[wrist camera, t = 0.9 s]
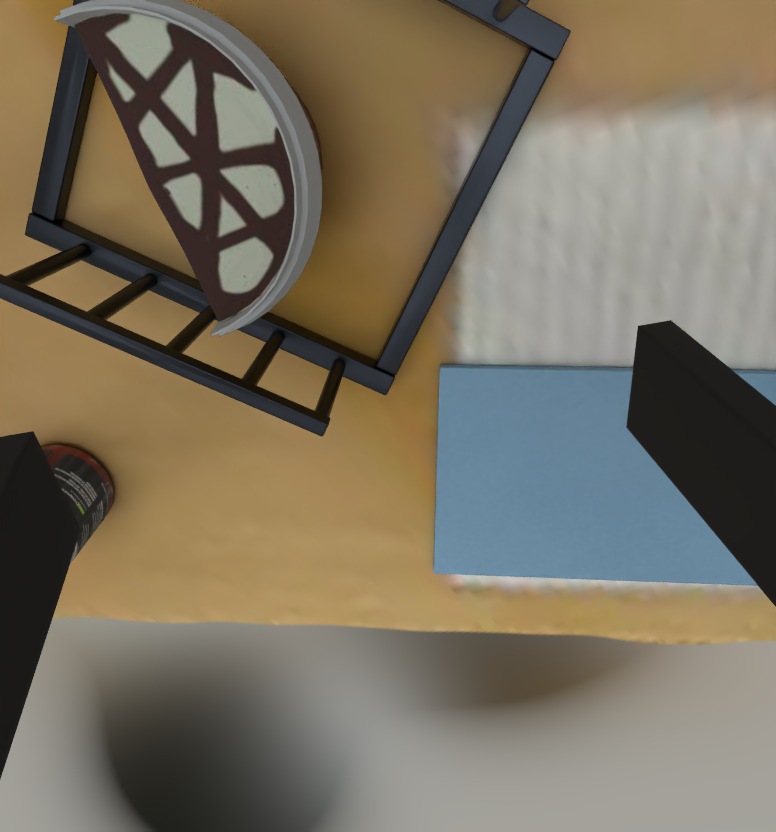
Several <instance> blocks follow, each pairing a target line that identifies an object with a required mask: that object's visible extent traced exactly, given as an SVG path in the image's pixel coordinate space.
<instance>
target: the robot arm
mask: <svg viewBox="0 0 776 832" xmlns="http://www.w3.org/2000/svg"><path fill="white" fill-rule="evenodd" d="M626 428H627V429H628V430H629V431H630V432H631V434H632V435H633V436H634V437H635V438H636V440H637V441H638V442H639V443H640V444H641V446H642V447H643V448H644V449H645V450H646V452H647V453H648V454H649V455H650V456H651V458H652V459H653V460H654V461H655V462H656V464H657V465H658V466H659V467H660V468H661V470H662V471H663V472H664V473H665V474H666V476H667V477H668V478H669V479H670V480H671V482H672V483H673V484H674V485H675V486H676V488H677V489H678V490H679V491H680V492H681V494H682V495H683V496H684V497H685V498H686V500H687V501H688V502H689V503H690V504H691V506H692V507H693V508H694V509H695V510H696V512H697V513H698V514H699V515H700V516H701V518H702V519H703V520H704V521H705V522H706V524H707V525H708V526H709V527H710V528H711V530H712V531H713V532H714V533H715V534H716V536H717V537H718V538H719V539H720V540H721V542H722V543H723V544H724V545H725V546H726V548H727V549H728V550H729V551H730V552H731V554H732V555H733V556H734V557H735V558H736V560H737V561H738V562H739V563H740V564H741V566H742V567H743V568H744V569H745V570H746V572H747V573H748V574H749V575H750V576H751V578H752V579H753V580H754V581H755V582H756V584H757V585H758V586H759V587H760V588H761V590H762V591H763V592H764V593H765V594H766V596H767V597H768V598H769V599H770V600H771V602H772V603H773V604H774V605H775V606H776V405H774V404H773V403H772V402H771V401H770V400H768V399H767V398H766V397H765V396H763V395H762V394H761V393H760V392H758V391H757V390H756V389H755V388H754V387H752V386H751V385H750V384H749V383H747V382H746V381H745V380H744V379H742V378H741V377H740V376H739V375H737V374H736V373H735V372H734V371H733V370H731V369H730V368H729V367H728V366H726V365H725V364H724V363H723V362H721V361H720V360H719V359H718V358H717V357H715V356H714V355H713V354H712V353H710V352H709V351H708V350H707V349H705V348H704V347H703V346H702V345H701V344H699V343H698V342H697V341H696V340H694V339H693V338H692V337H691V336H689V335H688V334H687V333H686V332H685V331H683V330H682V329H681V328H680V327H678V326H677V325H676V324H675V323H673V322H672V321H671V320H670V321H664V322H659V323H653V324H647V325H641V326H638V331H637V340H636V348H635V357H634V365H633V374H632V383H631V391H630V400H629V408H628V417H627V425H626ZM80 531H81V528H80V526H79V523H78V521H77V519H76V517H75V515H74V513H73V511H72V509H71V507H70V505H69V503H68V501H67V499H66V497H65V495H64V493H63V491H62V489H61V487H60V485H59V483H58V481H57V479H56V477H55V475H54V473H53V471H52V469H51V467H50V465H49V463H48V461H47V459H46V457H45V454H44V452H43V450H42V448H41V446H40V444H39V442H38V440H37V438H36V436H35V434H34V432H33V431H32V432H27V433H21V434H15V435H9V436H4V437H0V778H1V775H2V772H3V769H4V766H5V763H6V760H7V757H8V754H9V751H10V748H11V744H12V741H13V738H14V735H15V732H16V729H17V726H18V723H19V719H20V716H21V714H22V710H23V707H24V704H25V701H26V698H27V695H28V692H29V689H30V686H31V683H32V679H33V676H34V673H35V670H36V667H37V664H38V661H39V658H40V655H41V651H42V648H43V645H44V642H45V639H46V636H47V633H48V630H49V627H50V624H51V621H52V618H53V615H54V611H55V608H56V605H57V602H58V599H59V596H60V593H61V590H62V587H63V584H64V581H65V577H66V574H67V571H68V568H69V565H70V562H71V559H72V556H73V553H74V550H75V547H76V543H77V540H78V537H79V534H80Z"/></svg>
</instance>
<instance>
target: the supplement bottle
mask: <svg viewBox="0 0 776 832" xmlns="http://www.w3.org/2000/svg"><path fill="white" fill-rule="evenodd" d="M41 448H42V450H43V452H44V454H45V457H46V459H47V461H48V463H49V465H50V467H51V469H52V471H53V473H54V475H55V477H56V479H57V481H58V483H59V485H60V487H61V489H62V491H63V493H64V495H65V497H66V499H67V501H68V503H69V505H70V507H71V509H72V511H73V513H74V515H75V517H76V519H77V521H78V523H79V526H80V528H81V531H80V534H79V537H78V540H77V543H76V547H75V550H74V553H73V556H72V559H71V562H72V561H73V559H74V558H75V557H76V556H77V554H78V553H79V551H80V550H81V549H82V547H83V546H84V545H85V543H86V542H87V541H88V539H89V538H90V537H91V535H92V534H93V533H94V531H95V530H96V529H97V527H98V526H99V525H100V524H101V522H102V521H103V520H104V518H105V516H106V515H107V513H108V512H109V510H110V509H111V506H112V503H113V498H114V491H113V486H112V482H111V480H110V477H109V476H108V474H107V472H106V471H105V469H104V468H103V467H102V466H101V465H100V464H99V463H98V462H97V461H96V460H95V459H94V458H93V457H91V456H90V455H88V454H87V453H85V452H83V451H81V450H78V449H76V448H72V447H69V446H64V445H48V446H43V447H41ZM71 562H70V563H71Z"/></svg>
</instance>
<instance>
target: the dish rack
mask: <svg viewBox="0 0 776 832" xmlns="http://www.w3.org/2000/svg"><path fill="white" fill-rule="evenodd" d="M86 1H90V0H74V2H73V6H74V5H77V4H80V3H83V2H86ZM439 1H440V2H442V3H444V4H446V5H448V6H450V7H452V8H454V9H455V10H457V11H459V12H461V13H463V14H465V15H467V16H468V17H470V18H472V19H474V20H476V21H478V22H480V23H481V24H483V25H485V26H487V27H489V28H491V29H493V30H494V31H496V32H498V33H500V34H502V35H504V36H506V37H508V38H509V39H511V40H513V41H515V42H517V43H519V44H521V45H522V46H524V47H526V48H528V49H529V50H528V51H527V53H526V55H525V57H524V59H523V61H522V63H521V65H520V67H519V69H518V71H517V73H516V75H515V78H514V80H513V82H512V84H511V86H510V88H509V90H508V92H507V94H506V96H505V98H504V100H503V102H502V104H501V106H500V108H499V110H498V112H497V115H496V117H495V119H494V121H493V123H492V125H491V127H490V129H489V131H488V133H487V135H486V137H485V139H484V141H483V143H482V145H481V147H480V149H479V152H478V154H477V156H476V158H475V160H474V162H473V164H472V166H471V168H470V170H469V172H468V174H467V176H466V178H465V180H464V182H463V184H462V186H461V188H460V191H459V193H458V195H457V197H456V199H455V201H454V203H453V205H452V207H451V209H450V211H449V213H448V215H447V217H446V219H445V221H444V223H443V225H442V228H441V230H440V232H439V234H438V236H437V238H436V240H435V242H434V244H433V246H432V248H431V250H430V252H429V254H428V256H427V258H426V260H425V262H424V265H423V267H422V269H421V271H420V273H419V275H418V277H417V279H416V281H415V283H414V285H413V287H412V289H411V291H410V293H409V295H408V297H407V299H406V301H405V304H404V306H403V308H402V310H401V312H400V314H399V316H398V318H397V320H396V322H395V324H394V326H393V328H392V330H391V332H390V334H389V336H388V338H387V341H386V343H385V345H384V347H383V349H382V351H381V353H380V355H379V357H378V359H377V361H375V360H373V359H371V358H369V357H366V356H364V355H362V354H360V353H358V352H355V351H353V350H351V349H349V348H347V347H344V346H342V345H340V344H338V343H335V342H333V341H331V340H329V339H327V338H324V337H322V336H320V335H318V334H316V333H313V332H311V331H309V330H307V329H305V328H302V327H300V326H298V325H296V324H293V323H291V322H289V321H287V320H285V319H282V318H280V317H278V316H276V315H274V314H271V313H269V312H267V313H265V314H264V315H262V316H261V317H259V318H258V319H256V320H255V321H253V322H252V323H250V324H248V325H245V326H243V327H241V328H239V329H237V330H240V331H242V332H244V333H246V334H249V335H251V336H253V337H255V338H258V339H260V340H262V341H264V342H266V343H265V345H264V346H263V348H262V349H261V351H260V352H259V354H258V355H257V357H256V358H255V360H254V361H253V363H252V364H251V366H250V367H249V369H248V370H247V372H246V373H245V375H244V376H243V378H242V379H240V378H238V377H235V376H233V375H231V374H228V373H226V372H224V371H222V370H219V369H217V368H215V367H212V366H210V365H208V364H205V363H203V362H201V361H199V360H196V359H194V358H192V357H189V356H187V355H185V354H182V353H183V352H184V351H185V350H186V349H187V348H188V347H189V346H190V345H191V344H192V343H193V342H194V341H195V339H196V338H197V337H198V336H199V335H200V334H201V333H202V332H203V331H204V330H205V329H206V328H207V327H208V326H209V325H210V324H211V323H212V322H213V321H214V320H217V318H216V316H215V314H214V312H213V309H212V307H211V305H210V303H209V301H208V299H207V297H206V295H205V293H204V291H203V289H202V287H201V285H200V283H199V281H198V280H196V279H194V278H192V277H189V276H187V275H185V274H183V273H181V272H178V271H176V270H174V269H172V268H169V267H167V266H165V265H163V264H161V263H158V262H156V261H154V260H152V259H150V258H147V257H145V256H143V255H141V254H138V253H136V252H134V251H132V250H130V249H127V248H125V247H123V246H121V245H119V244H116V243H114V242H112V241H110V240H107V239H105V238H103V237H101V236H99V235H96V234H94V233H92V232H90V231H88V230H85V229H83V228H81V227H79V226H76V225H74V224H72V223H70V222H68V221H65V220H63V218H64V214H65V209H66V205H67V200H68V196H69V191H70V187H71V182H72V178H73V173H74V169H75V164H76V160H77V155H78V151H79V146H80V142H81V137H82V133H83V129H84V124H85V120H86V115H87V111H88V106H89V102H90V97H91V93H92V88H93V84H94V79H95V75H96V69H95V67H94V65H93V63H92V61H91V59H90V58H89V56H88V55H87V53H86V52H85V50H84V47H83V45H82V42H81V39H80V37H79V35H78V34H77V31H76V29H75V28H74V27H71V26H69V27H68V32H67V37H66V42H65V47H64V52H63V57H62V62H61V67H60V72H59V77H58V82H57V87H56V92H55V97H54V102H53V107H52V112H51V117H50V122H49V127H48V132H47V137H46V142H45V147H44V152H43V157H42V162H41V167H40V172H39V177H38V182H37V187H36V192H35V197H34V202H33V207H32V213H30V214H29V216H28V221H27V226H26V231H25V235H26V236H28V237H31V238H33V239H35V240H37V241H40V242H42V243H44V244H46V245H49V246H51V247H53V248H55V249H58V250H60V251H62V252H60V253H58V254H56V255H53V256H51V257H49V258H46V259H44V260H42V261H40V262H37V263H35V264H33V265H30V266H28V267H26V268H23V269H21V270H19V271H17V272H14V273H12V274H10V275H7V276H3V275H0V298H1V299H3V300H6V301H8V302H10V303H13V304H15V305H17V306H20V307H22V308H24V309H27V310H29V311H31V312H34V313H36V314H38V315H41V316H43V317H45V318H48V319H50V320H52V321H55V322H57V323H59V324H62V325H64V326H66V327H69V328H71V329H73V330H75V331H78V332H80V333H82V334H85V335H87V336H89V337H92V338H94V339H96V340H99V341H101V342H103V343H106V344H108V345H110V346H113V347H115V348H117V349H120V350H122V351H124V352H127V353H129V354H131V355H134V356H136V357H138V358H141V359H143V360H145V361H148V362H150V363H152V364H154V365H157V366H159V367H161V368H164V369H166V370H168V371H171V372H173V373H175V374H178V375H180V376H182V377H185V378H187V379H189V380H192V381H194V382H196V383H199V384H201V385H203V386H206V387H208V388H210V389H213V390H215V391H217V392H220V393H222V394H224V395H227V396H229V397H231V398H234V399H236V400H238V401H240V402H243V403H245V404H247V405H250V406H252V407H254V408H257V409H259V410H261V411H264V412H266V413H268V414H271V415H273V416H275V417H278V418H280V419H282V420H285V421H287V422H289V423H292V424H294V425H296V426H299V427H301V428H303V429H306V430H308V431H310V432H313V433H315V434H317V435H320V436H323V435H324V433H325V431H326V429H327V427H328V425H329V421H330V418H329V416H330V413H331V410H332V406H333V403H334V400H335V397H336V394H337V391H338V388H339V385H340V382H341V379H342V376H343V377H345V378H348V379H350V380H352V381H354V382H357V383H359V384H361V385H363V386H366V387H368V388H370V389H372V390H374V391H377V392H379V393H381V394H383V395H387V393H388V391H389V389H390V387H391V385H392V383H393V381H394V379H395V375H396V374H397V372H398V370H399V368H400V366H401V364H402V362H403V360H404V358H405V356H406V354H407V352H408V350H409V348H410V346H411V344H412V342H413V341H414V339H415V337H416V335H417V333H418V331H419V329H420V327H421V325H422V323H423V321H424V319H425V317H426V315H427V313H428V311H429V309H430V307H431V305H432V303H433V301H434V299H435V297H436V295H437V293H438V291H439V289H440V287H441V285H442V283H443V281H444V279H445V277H446V275H447V273H448V271H449V270H450V268H451V266H452V264H453V262H454V260H455V258H456V256H457V254H458V252H459V250H460V248H461V246H462V244H463V242H464V240H465V238H466V236H467V234H468V232H469V230H470V228H471V226H472V224H473V222H474V220H475V218H476V216H477V214H478V212H479V210H480V208H481V206H482V204H483V202H484V200H485V198H486V197H487V195H488V193H489V191H490V189H491V187H492V185H493V183H494V181H495V179H496V177H497V175H498V173H499V171H500V169H501V167H502V165H503V163H504V161H505V159H506V157H507V155H508V153H509V151H510V149H511V147H512V145H513V143H514V141H515V139H516V137H517V135H518V133H519V131H520V129H521V127H522V126H523V124H524V122H525V120H526V118H527V116H528V114H529V112H530V110H531V108H532V106H533V104H534V102H535V100H536V98H537V96H538V94H539V92H540V90H541V88H542V86H543V84H544V82H545V80H546V78H547V76H548V74H549V72H550V70H551V68H552V66H553V64H554V60H557V58H558V56H559V54H560V52H561V50H562V48H563V46H564V44H565V42H566V40H567V38H568V36H569V34H570V32H571V31H570V30H568V29H566V28H564V27H563V26H561V25H559V24H557V23H555V22H553V21H552V20H550V19H548V18H546V17H544V16H542V15H541V14H539V13H537V12H535V11H533V10H531V9H530V8H528V7H526V5H527V4H528V2H529V0H439ZM80 260H82V261H85V262H87V263H89V264H91V265H94V266H96V267H98V268H100V269H103V270H105V271H107V272H109V273H112V274H114V275H116V276H118V277H121V278H123V279H125V280H127V281H130V282H132V283H131V284H130V285H128V286H127V287H125V288H124V289H122V290H120V291H119V292H117V293H116V294H114V295H113V296H111V297H109V298H108V299H106V300H105V301H103V302H102V303H100V304H99V305H97V306H95V307H94V308H92V309H91V310H89V311H88V312H86V311H84V310H81V309H79V308H77V307H74V306H72V305H70V304H68V303H65V302H63V301H61V300H58V299H56V298H54V297H51V296H49V295H47V294H45V293H42V292H40V291H38V290H35V289H33V288H31V287H28V285H31V284H33V283H35V282H37V281H39V280H41V279H43V278H45V277H47V276H49V275H51V274H53V273H55V272H58V271H60V270H62V269H64V268H66V267H68V266H70V265H72V264H74V263H76V262H78V261H80ZM148 290H150V291H152V292H154V293H157V294H159V295H161V296H163V297H166V298H168V299H170V300H172V301H175V302H177V303H179V304H181V305H184V306H186V307H188V308H190V309H192V310H195V311H197V312H199V313H200V314H199V315H198V316H197V317H196V318H195V319H194V320H193V321H192V322H191V323H189V324H188V325H187V326H186V327H185V328H184V329H183V330H182V331H181V332H180V333H179V334H178V335H177V336H176V337H175V338H174V339H173V340H172V341H171V342H169V343H168V344H167V345H166V346H164V345H162V344H159V343H157V342H155V341H153V340H150V339H148V338H146V337H143V336H141V335H139V334H137V333H134V332H132V331H130V330H127V329H125V328H123V327H120V326H118V325H116V324H114V323H111V322H109V321H107V319H108V318H110V317H111V316H113V315H114V314H115V313H117V312H118V311H120V310H121V309H123V308H124V307H125V306H127V305H128V304H130V303H131V302H133V301H134V300H135V299H137V298H138V297H140V296H141V295H143V294H144V293H145V292H147V291H148ZM217 321H218V320H217ZM279 348H280V349H282V350H285V351H287V352H289V353H291V354H294V355H296V356H298V357H300V358H303V359H305V360H307V361H309V362H312V363H314V364H316V365H318V366H321V367H323V368H325V369H327V370H330V372H329V374H328V377H327V380H326V382H325V385H324V387H323V390H322V393H321V395H320V398H319V401H318V403H317V406H316V409H315V411H314V410H311V409H309V408H307V407H304V406H302V405H300V404H297V403H295V402H293V401H291V400H288V399H286V398H284V397H281V396H279V395H277V394H274V393H272V392H270V391H268V390H265V389H263V388H261V387H258V386H257V384H258V382H259V381H260V379H261V377H262V376H263V374H264V372H265V371H266V369H267V368H268V366H269V364H270V363H271V361H272V359H273V358H274V356H275V354H276V353H277V351H278V349H279Z"/></svg>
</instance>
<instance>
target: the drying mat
mask: <svg viewBox="0 0 776 832" xmlns="http://www.w3.org/2000/svg"><path fill="white" fill-rule="evenodd" d="M733 371H734V372H735V373H736V374H737V375H739V376H740V377H741V378H742V379H744V380H745V381H746V382H747V383H749V384H750V385H751V386H752V387H754V388H755V389H756V390H757V391H758V392H760V393H761V394H762V395H763V396H765V397H766V398H767V399H768V400H770V401H771V402H772V403H773V404H774V405H776V371H771V370H733ZM632 374H633V368H604V367H549V366H493V365H440V369H439V403H438V436H437V470H436V504H435V538H434V573H435V574H462V575H488V576H515V577H542V578H569V579H595V580H622V581H649V582H676V583H702V584H729V585H756V586H758V585H757V584H756V582H755V581H754V580H753V579H752V578H751V576H750V575H749V574H748V573H747V572H746V570H745V569H744V568H743V567H742V566H741V564H740V563H739V562H738V561H737V560H736V558H735V557H734V556H733V555H732V554H731V552H730V551H729V550H728V549H727V548H726V546H725V545H724V544H723V543H722V542H721V540H720V539H719V538H718V537H717V536H716V534H715V533H714V532H713V531H712V530H711V528H710V527H709V526H708V525H707V524H706V522H705V521H704V520H703V519H702V518H701V516H700V515H699V514H698V513H697V512H696V510H695V509H694V508H693V507H692V506H691V504H690V503H689V502H688V501H687V500H686V498H685V497H684V496H683V495H682V494H681V492H680V491H679V490H678V489H677V488H676V486H675V485H674V484H673V483H672V482H671V480H670V479H669V478H668V477H667V476H666V474H665V473H664V472H663V471H662V470H661V468H660V467H659V466H658V465H657V464H656V462H655V461H654V460H653V459H652V458H651V456H650V455H649V454H648V453H647V452H646V450H645V449H644V448H643V447H642V446H641V444H640V443H639V442H638V441H637V440H636V438H635V437H634V436H633V435H632V434H631V432H630V431H629V430H628V429H627V428H626V425H627V417H628V408H629V400H630V391H631V383H632Z"/></svg>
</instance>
